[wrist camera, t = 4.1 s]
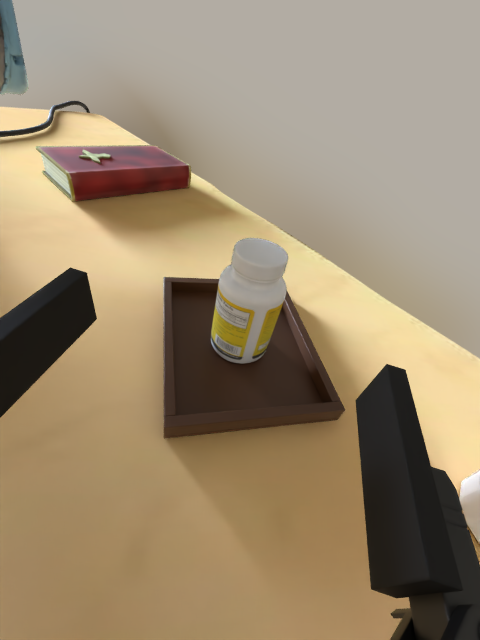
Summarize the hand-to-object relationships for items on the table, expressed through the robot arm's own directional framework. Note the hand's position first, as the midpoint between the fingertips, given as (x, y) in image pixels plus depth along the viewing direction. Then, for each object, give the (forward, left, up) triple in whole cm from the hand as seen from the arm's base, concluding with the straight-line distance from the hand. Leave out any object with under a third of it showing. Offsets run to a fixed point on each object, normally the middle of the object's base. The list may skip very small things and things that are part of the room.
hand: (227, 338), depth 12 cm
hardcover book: (-48, -10, -11) cm, 50 cm away
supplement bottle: (-9, +4, -11) cm, 14 cm away
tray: (-9, +4, -11) cm, 15 cm away
